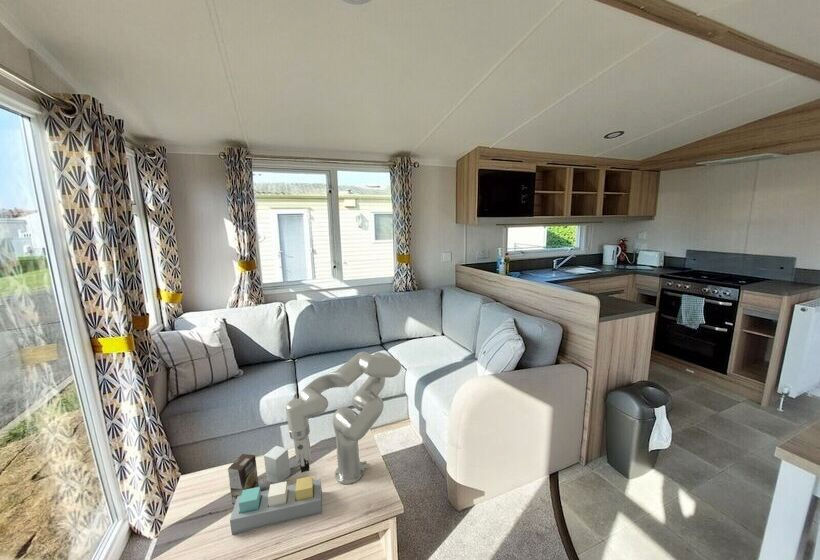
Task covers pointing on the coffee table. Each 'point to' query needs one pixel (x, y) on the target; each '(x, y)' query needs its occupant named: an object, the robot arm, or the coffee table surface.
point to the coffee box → (242, 475)
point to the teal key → (250, 500)
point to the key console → (277, 510)
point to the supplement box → (277, 464)
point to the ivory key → (278, 494)
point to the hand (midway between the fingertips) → (305, 470)
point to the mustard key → (304, 488)
